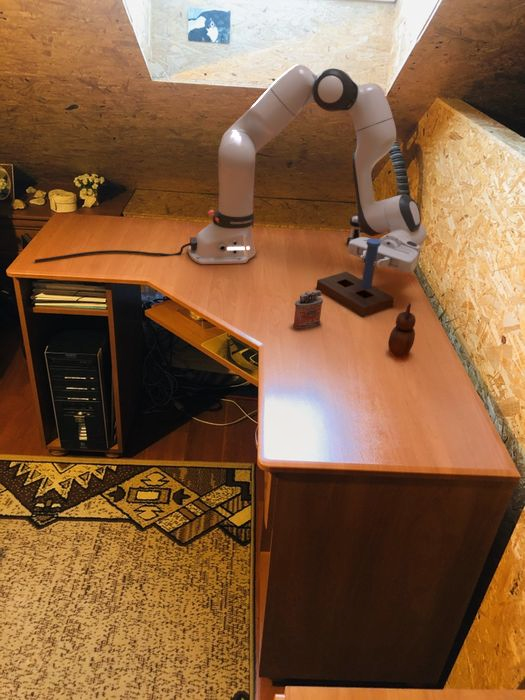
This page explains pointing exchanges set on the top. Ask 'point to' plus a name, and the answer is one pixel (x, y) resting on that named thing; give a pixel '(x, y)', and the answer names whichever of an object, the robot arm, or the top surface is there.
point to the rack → (354, 294)
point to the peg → (370, 263)
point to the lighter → (308, 310)
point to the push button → (354, 229)
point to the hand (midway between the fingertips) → (368, 262)
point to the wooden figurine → (402, 334)
